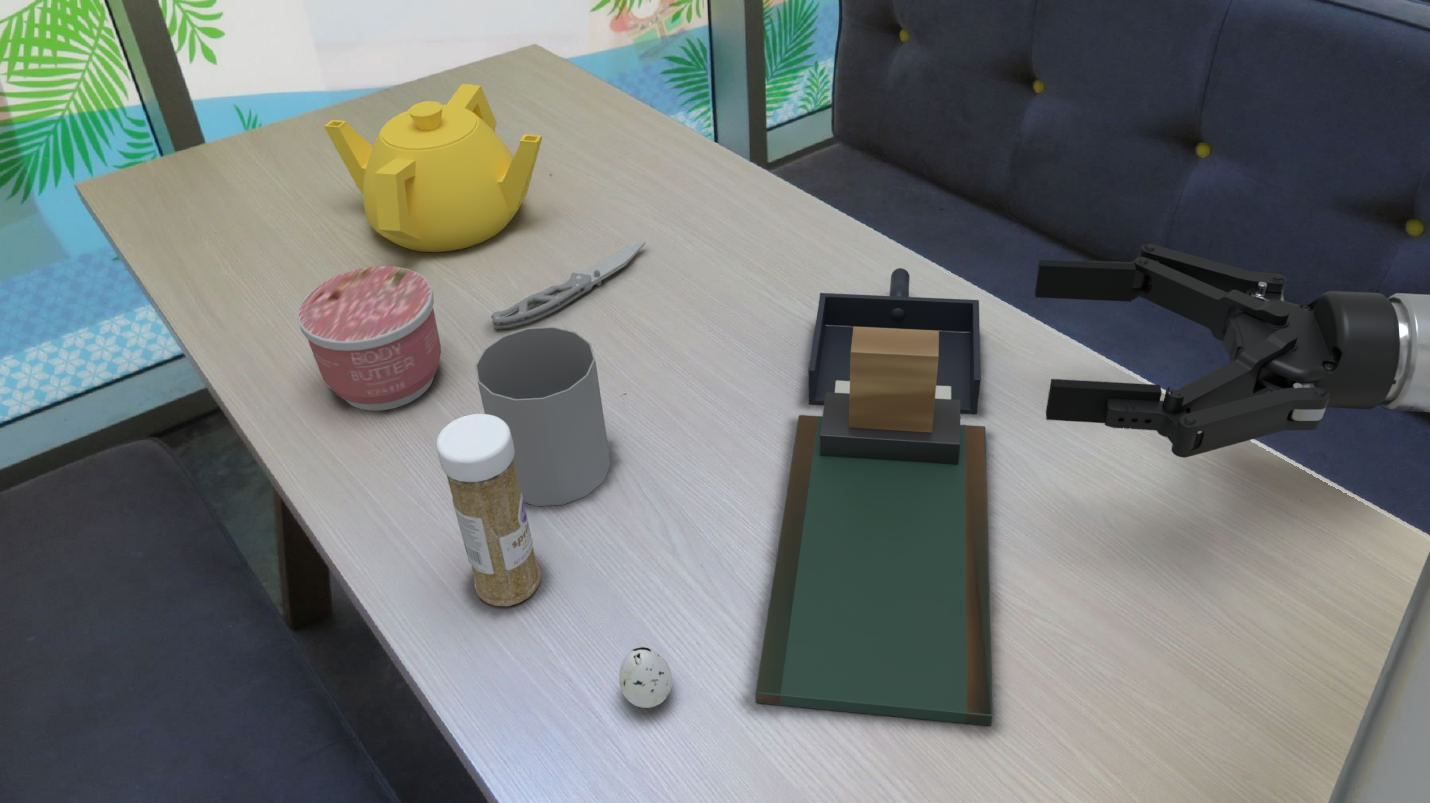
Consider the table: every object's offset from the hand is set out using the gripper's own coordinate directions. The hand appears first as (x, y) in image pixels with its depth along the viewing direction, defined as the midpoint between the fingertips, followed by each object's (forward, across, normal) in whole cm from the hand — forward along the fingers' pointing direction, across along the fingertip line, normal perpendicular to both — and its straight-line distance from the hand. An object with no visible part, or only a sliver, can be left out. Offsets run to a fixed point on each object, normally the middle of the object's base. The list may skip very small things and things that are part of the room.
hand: (1041, 335), depth 80 cm
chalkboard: (+10, -10, -12) cm, 18 cm away
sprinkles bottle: (+35, -15, -12) cm, 40 cm away
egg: (+23, -24, -12) cm, 35 cm away
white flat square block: (+12, +5, -11) cm, 17 cm away
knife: (+38, +20, -12) cm, 45 cm away
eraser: (+10, +1, -11) cm, 15 cm away
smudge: (+7, +5, -11) cm, 14 cm away
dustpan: (+10, +14, -12) cm, 20 cm away
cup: (+34, -4, -12) cm, 37 cm away
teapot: (+54, +31, -12) cm, 64 cm away
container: (+51, +5, -12) cm, 53 cm away
